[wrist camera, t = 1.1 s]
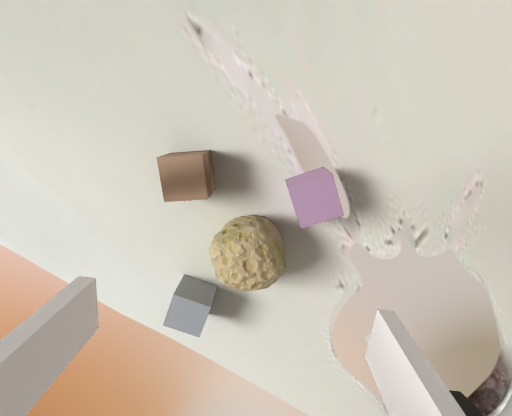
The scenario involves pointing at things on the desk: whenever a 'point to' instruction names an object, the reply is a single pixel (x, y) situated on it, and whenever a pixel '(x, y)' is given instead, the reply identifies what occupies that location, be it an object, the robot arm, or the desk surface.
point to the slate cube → (190, 305)
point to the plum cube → (314, 197)
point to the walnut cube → (186, 175)
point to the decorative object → (248, 253)
